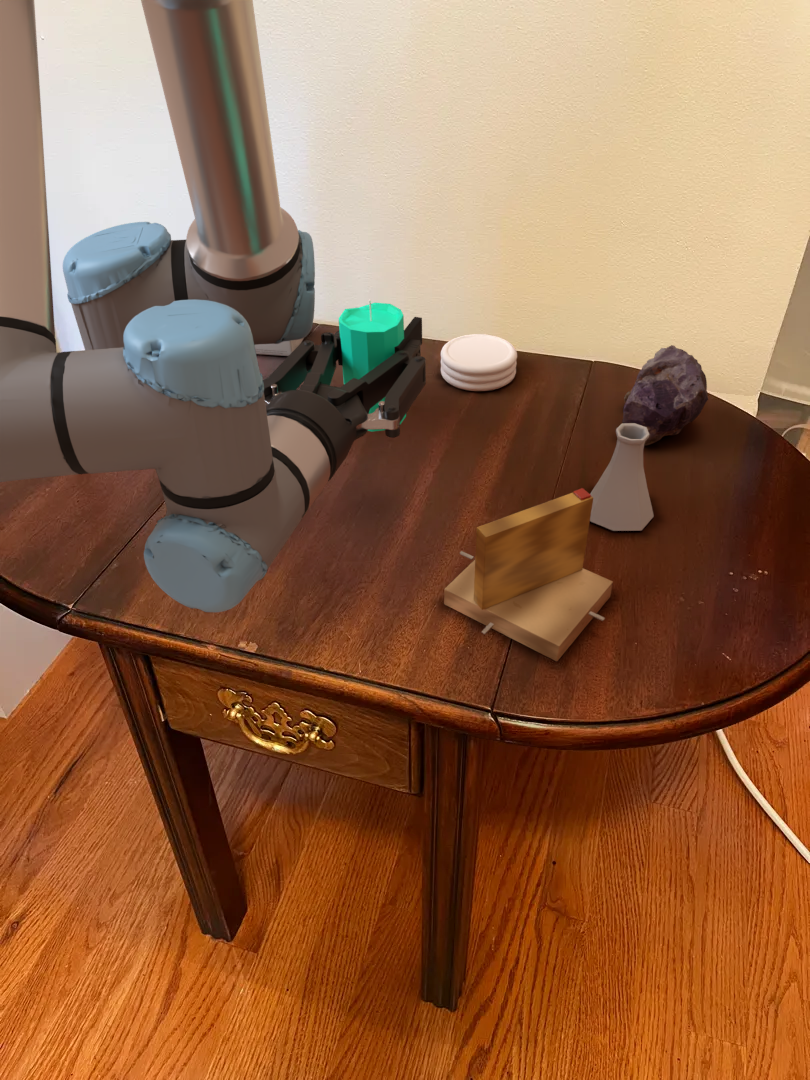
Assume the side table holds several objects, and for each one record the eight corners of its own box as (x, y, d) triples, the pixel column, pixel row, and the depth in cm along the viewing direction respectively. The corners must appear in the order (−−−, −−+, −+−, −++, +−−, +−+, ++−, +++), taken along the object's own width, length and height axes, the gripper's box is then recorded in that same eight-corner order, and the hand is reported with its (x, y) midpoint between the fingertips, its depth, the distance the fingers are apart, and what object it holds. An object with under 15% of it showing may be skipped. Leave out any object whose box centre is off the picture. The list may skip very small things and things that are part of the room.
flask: (657, 498, 90) (674, 418, 83) (649, 539, 84) (667, 457, 78) (589, 486, 92) (601, 407, 85) (577, 526, 86) (589, 445, 80)
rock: (605, 448, 99) (692, 465, 96) (610, 391, 93) (703, 406, 89) (629, 389, 106) (711, 402, 103) (635, 331, 100) (723, 344, 96)
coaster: (435, 358, 115) (435, 335, 112) (507, 353, 115) (508, 329, 113) (446, 395, 107) (446, 371, 105) (523, 390, 108) (525, 365, 105)
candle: (409, 400, 85) (406, 287, 77) (403, 432, 80) (399, 315, 73) (350, 399, 85) (342, 286, 78) (341, 430, 81) (331, 313, 73)
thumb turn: (482, 610, 74) (485, 534, 69) (473, 599, 76) (476, 524, 70) (582, 569, 78) (593, 495, 73) (572, 560, 79) (583, 486, 74)
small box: (308, 332, 122) (305, 299, 118) (293, 358, 116) (288, 323, 112) (257, 329, 123) (252, 295, 119) (239, 354, 117) (233, 320, 114)
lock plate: (413, 613, 77) (413, 596, 76) (502, 528, 86) (503, 512, 85) (558, 689, 70) (560, 672, 69) (638, 588, 79) (642, 571, 78)
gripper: (198, 473, 70) (313, 349, 87) (397, 513, 66) (478, 373, 82) (181, 394, 65) (306, 279, 82) (394, 431, 61) (481, 301, 77)
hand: (392, 326), depth 82 cm, fingers closed on candle, 5 cm apart
